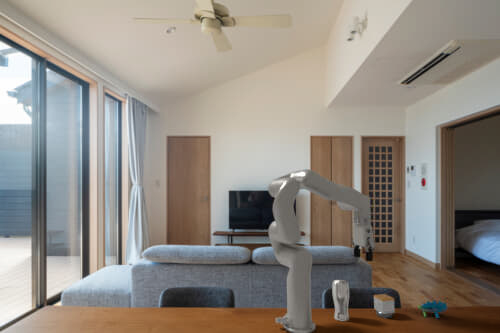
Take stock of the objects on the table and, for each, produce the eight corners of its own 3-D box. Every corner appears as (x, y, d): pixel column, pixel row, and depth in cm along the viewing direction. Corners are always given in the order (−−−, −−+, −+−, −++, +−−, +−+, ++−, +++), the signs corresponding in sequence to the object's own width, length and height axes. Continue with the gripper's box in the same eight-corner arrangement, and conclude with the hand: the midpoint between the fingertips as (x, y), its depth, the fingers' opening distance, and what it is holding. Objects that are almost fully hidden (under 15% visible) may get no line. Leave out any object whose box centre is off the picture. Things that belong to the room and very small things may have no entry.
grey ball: (383, 319, 122) (382, 307, 123) (373, 313, 128) (372, 301, 129) (396, 317, 124) (395, 305, 124) (385, 312, 130) (385, 300, 130)
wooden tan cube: (394, 312, 124) (393, 298, 125) (383, 313, 123) (382, 299, 124) (385, 307, 130) (384, 294, 130) (374, 309, 128) (373, 295, 129)
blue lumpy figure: (446, 310, 127) (446, 298, 122) (451, 323, 123) (452, 312, 117) (418, 310, 131) (417, 299, 126) (422, 324, 127) (421, 312, 121)
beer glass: (350, 322, 119) (349, 284, 120) (333, 320, 121) (332, 283, 122) (349, 315, 125) (348, 280, 127) (333, 314, 127) (331, 279, 129)
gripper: (380, 222, 128) (382, 262, 126) (359, 220, 145) (359, 255, 142) (365, 222, 126) (366, 262, 124) (345, 220, 143) (345, 255, 141)
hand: (362, 258), depth 133 cm, fingers open, 9 cm apart
